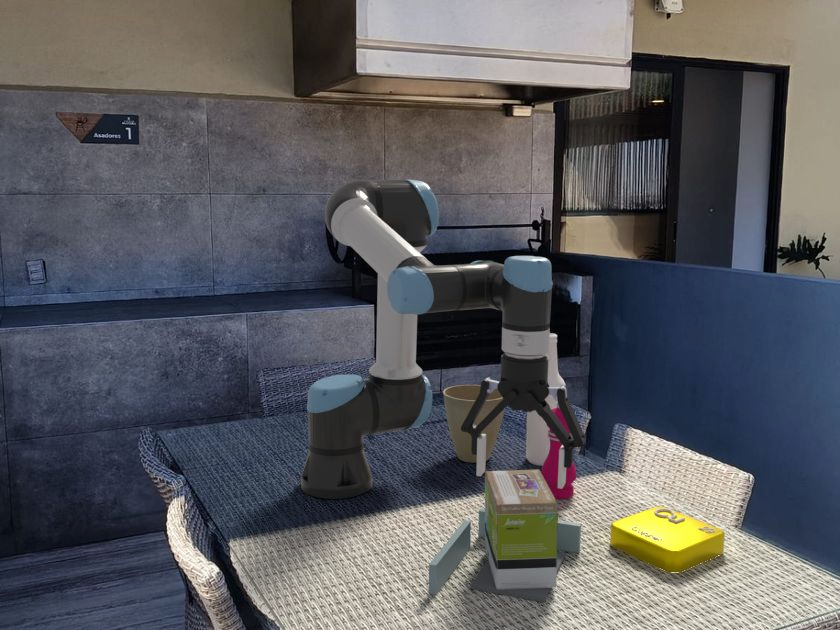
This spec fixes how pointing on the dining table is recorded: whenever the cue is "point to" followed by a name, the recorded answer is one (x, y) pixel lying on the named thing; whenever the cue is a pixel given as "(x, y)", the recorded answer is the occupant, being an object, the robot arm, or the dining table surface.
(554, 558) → the tea box
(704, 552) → the element tile
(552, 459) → the pepper mill
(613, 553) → the dining table surface
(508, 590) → the mat
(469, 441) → the plant pot
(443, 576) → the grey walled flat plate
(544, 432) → the alcohol
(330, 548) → the dining table surface
